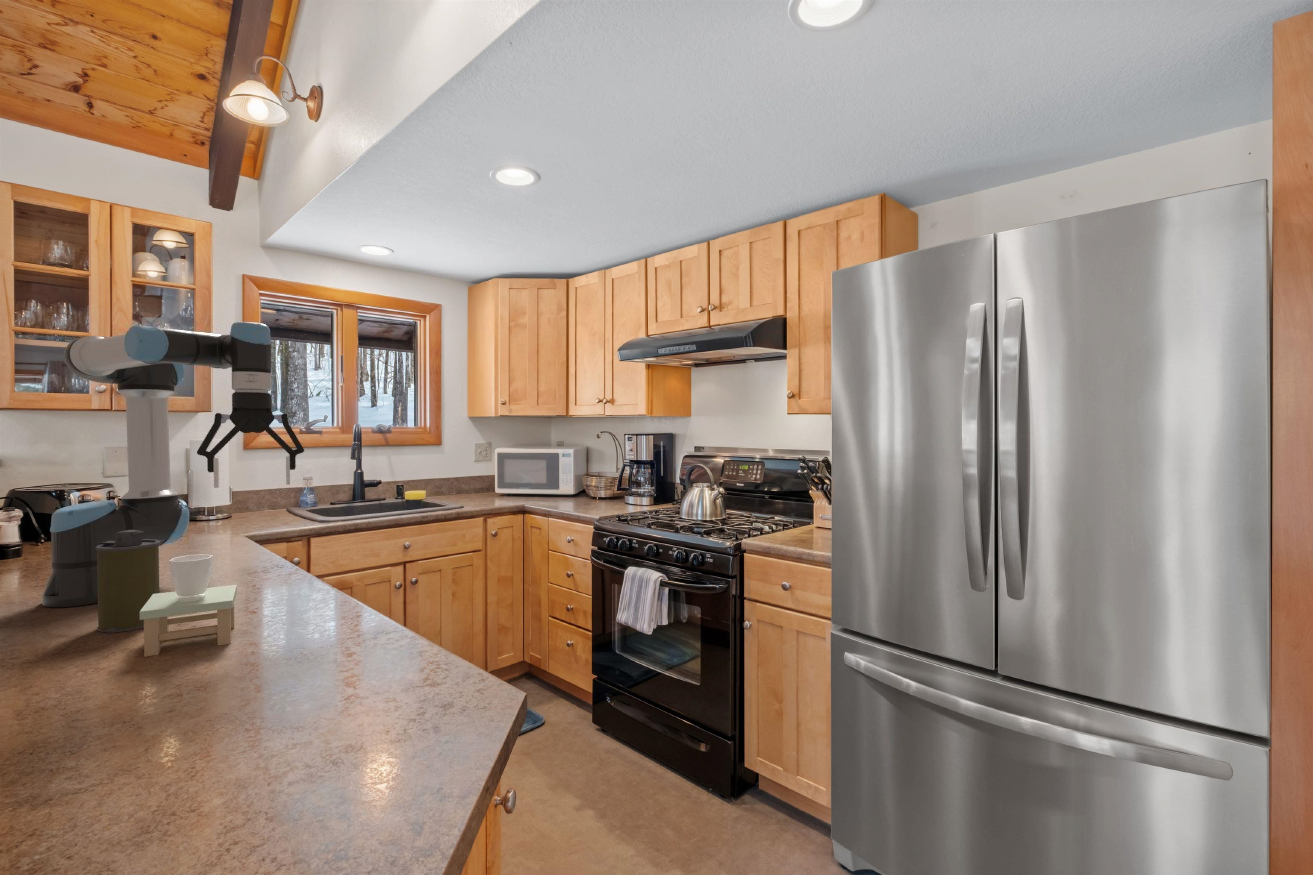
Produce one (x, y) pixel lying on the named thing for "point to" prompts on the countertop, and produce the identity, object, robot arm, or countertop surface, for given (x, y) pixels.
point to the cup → (191, 576)
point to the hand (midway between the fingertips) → (253, 485)
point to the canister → (126, 580)
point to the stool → (187, 616)
